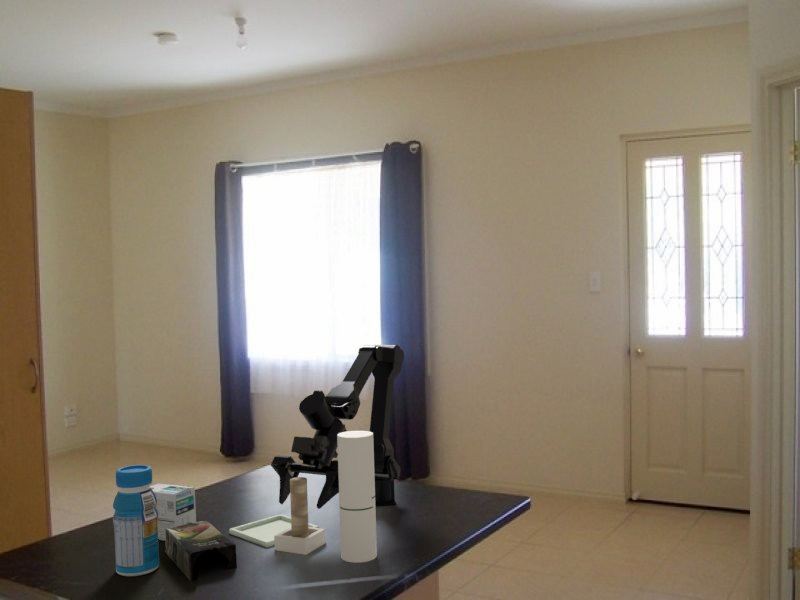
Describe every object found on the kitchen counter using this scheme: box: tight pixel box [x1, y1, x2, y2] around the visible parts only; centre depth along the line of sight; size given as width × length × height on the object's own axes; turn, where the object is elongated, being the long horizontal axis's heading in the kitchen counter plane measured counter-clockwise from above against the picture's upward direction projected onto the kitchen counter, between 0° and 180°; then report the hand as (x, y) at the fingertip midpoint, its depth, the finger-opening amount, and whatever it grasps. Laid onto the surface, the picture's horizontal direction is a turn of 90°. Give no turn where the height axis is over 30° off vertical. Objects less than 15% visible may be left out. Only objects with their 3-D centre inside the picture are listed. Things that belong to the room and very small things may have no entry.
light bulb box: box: [149, 483, 197, 541], centre depth 175 cm, size 11×7×11 cm, turn 65°
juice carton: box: [165, 520, 238, 582], centre depth 158 cm, size 20×10×6 cm, turn 31°
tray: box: [228, 513, 320, 548], centre depth 173 cm, size 14×14×2 cm
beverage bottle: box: [112, 464, 160, 577], centre depth 154 cm, size 8×8×20 cm
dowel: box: [289, 476, 309, 538], centre depth 163 cm, size 4×4×14 cm
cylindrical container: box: [337, 430, 378, 563], centre depth 156 cm, size 7×7×25 cm
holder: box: [274, 527, 327, 556], centre depth 164 cm, size 8×8×4 cm
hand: (299, 505), depth 163 cm, fingers open, 9 cm apart
